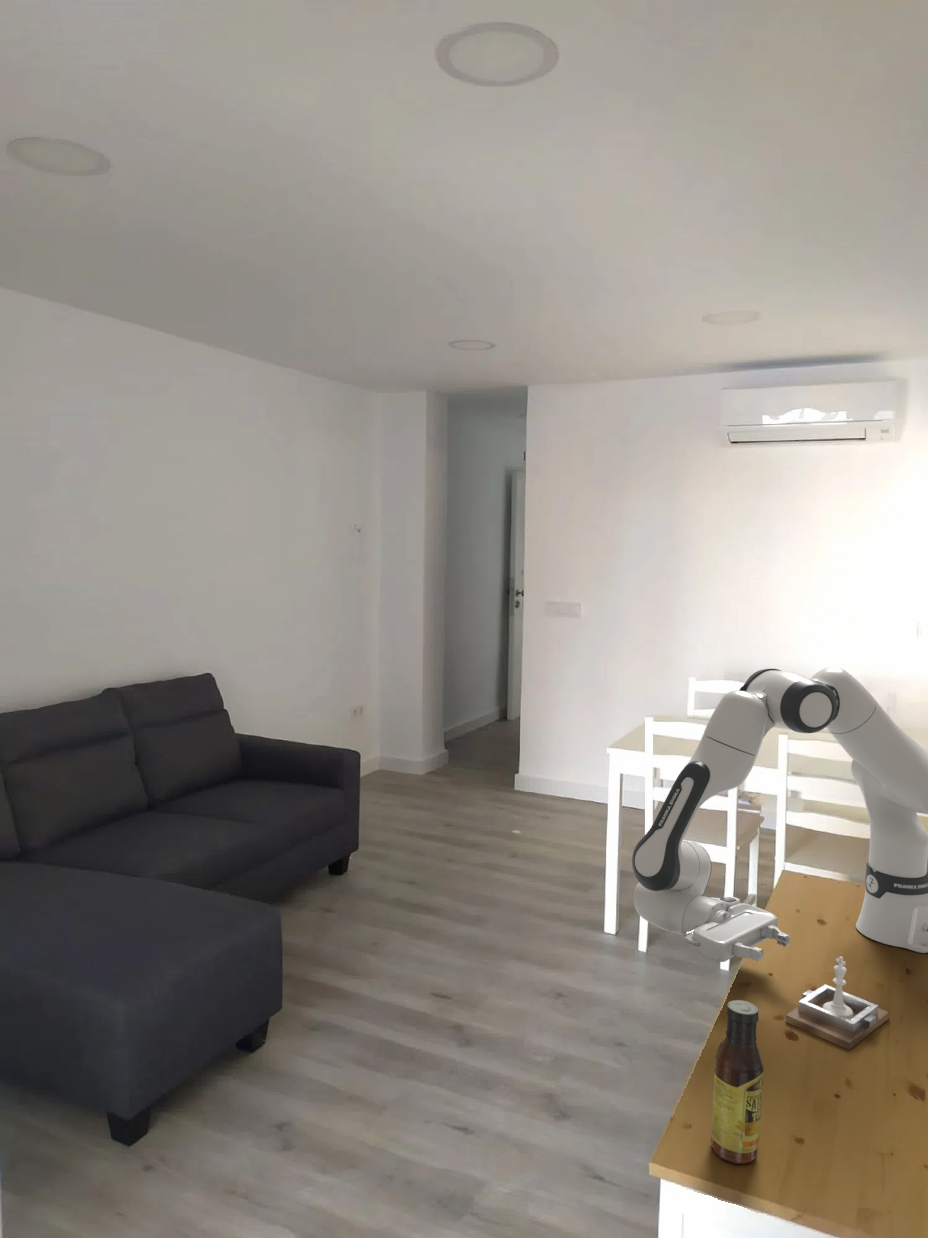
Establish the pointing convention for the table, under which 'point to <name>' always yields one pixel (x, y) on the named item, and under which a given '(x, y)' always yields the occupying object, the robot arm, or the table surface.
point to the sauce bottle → (738, 1087)
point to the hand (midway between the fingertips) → (775, 948)
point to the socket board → (833, 1032)
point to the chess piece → (839, 993)
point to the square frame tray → (850, 1026)
